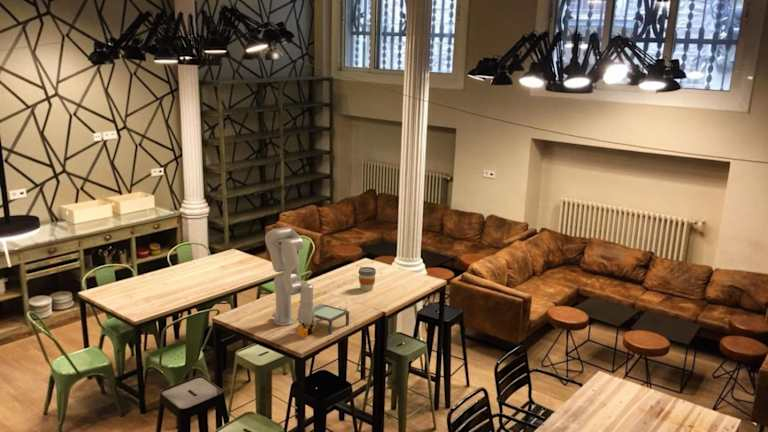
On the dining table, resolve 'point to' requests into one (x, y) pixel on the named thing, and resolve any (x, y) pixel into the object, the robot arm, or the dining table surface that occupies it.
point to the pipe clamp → (303, 330)
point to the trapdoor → (326, 311)
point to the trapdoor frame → (334, 318)
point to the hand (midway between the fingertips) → (306, 332)
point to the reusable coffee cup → (367, 278)
